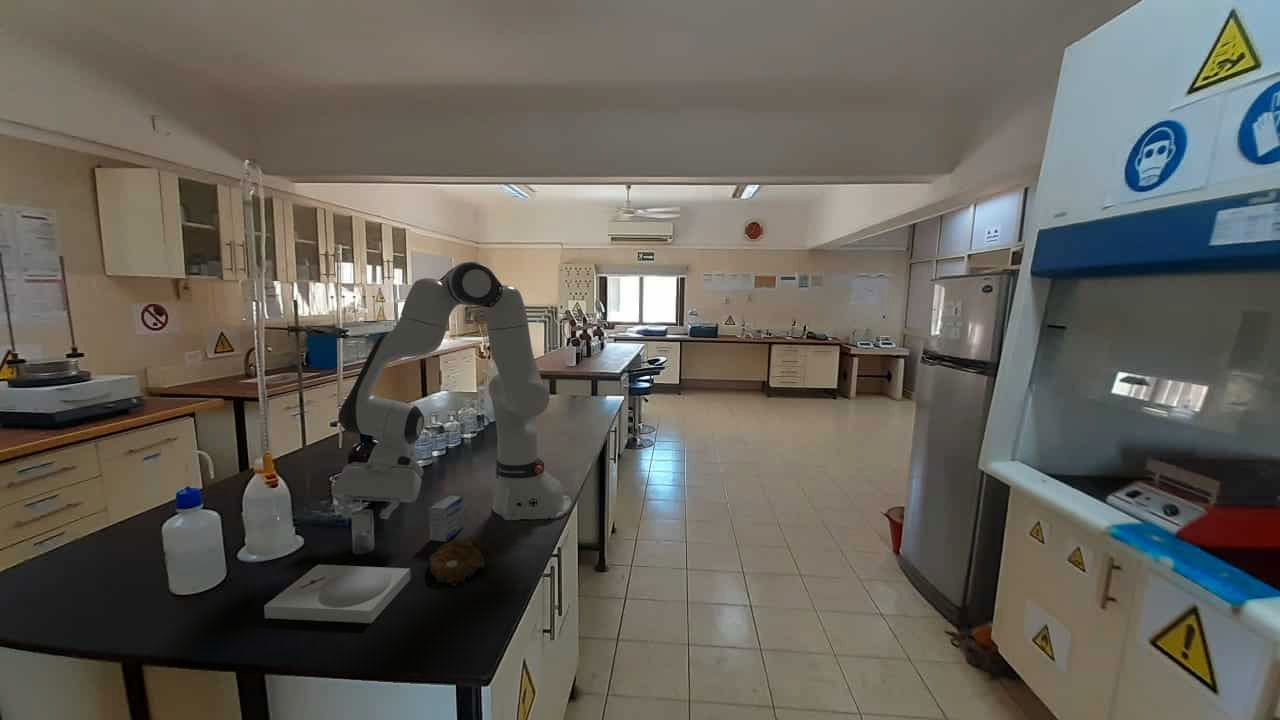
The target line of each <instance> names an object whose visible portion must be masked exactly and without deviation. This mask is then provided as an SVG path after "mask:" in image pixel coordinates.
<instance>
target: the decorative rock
mask: <svg viewBox="0 0 1280 720" xmlns="http://www.w3.org/2000/svg"><path fill="white" fill-rule="evenodd" d="M428 558H429V559H428V560H429V564H430V565H429V569H430V574H431V575H433V576H434V577H435V579H436V582H437V583H441V582H442V583H446V584H449V583H450V585H451V586H456V585H458V582H462V583H465V579H466V577H468V579H469V578H471V577H473V576H474V575H475V572H477V571H478V569H485V567H486V566H485V558H484V557H483V554H482V552H481V551H480V550H479V549H477V548H476V547H474V546H473V543H472V541H471V540H469V539H464V540H450V541H446V542H444V543H443V544H441V545H440V546H439V547H438V549H437V550H436V551H435V553H433V554H430V555H429V556H428Z"/></svg>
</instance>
